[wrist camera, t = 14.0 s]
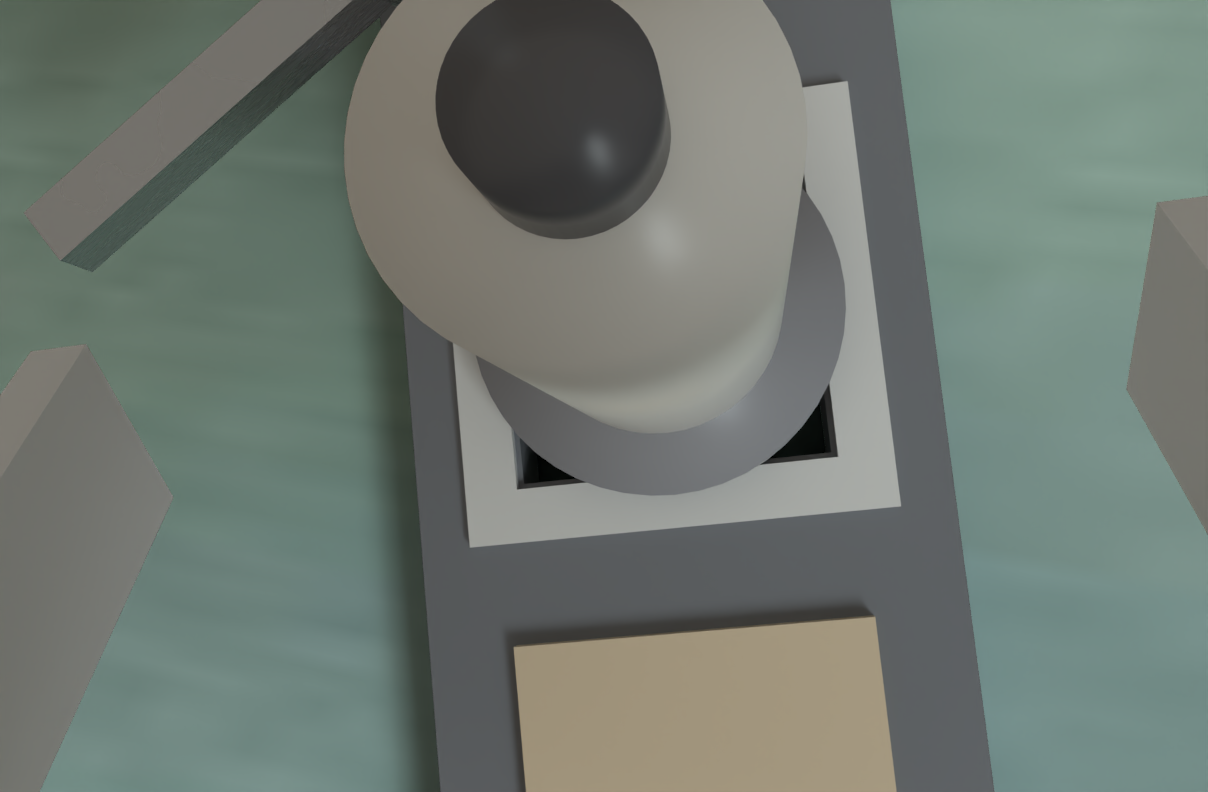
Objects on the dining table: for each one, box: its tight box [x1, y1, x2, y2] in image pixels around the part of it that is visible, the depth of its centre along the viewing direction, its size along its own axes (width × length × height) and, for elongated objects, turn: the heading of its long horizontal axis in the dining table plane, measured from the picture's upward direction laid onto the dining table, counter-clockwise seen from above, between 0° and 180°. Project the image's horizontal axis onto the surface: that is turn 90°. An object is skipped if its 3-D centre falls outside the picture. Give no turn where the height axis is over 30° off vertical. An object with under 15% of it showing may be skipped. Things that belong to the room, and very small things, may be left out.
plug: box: [344, 0, 846, 496], centre depth 16 cm, size 7×7×13 cm
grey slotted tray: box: [380, 0, 994, 792], centre depth 21 cm, size 10×26×3 cm, turn 6°
